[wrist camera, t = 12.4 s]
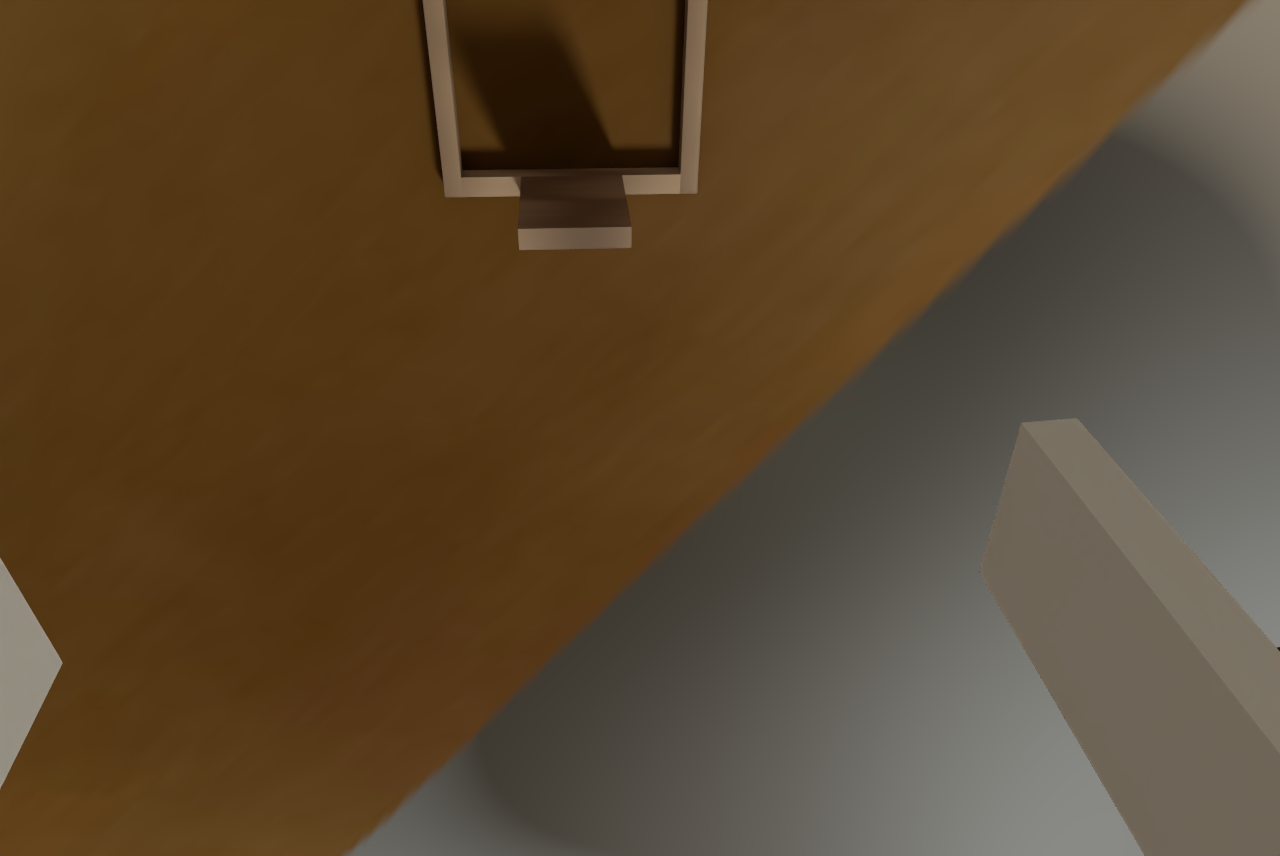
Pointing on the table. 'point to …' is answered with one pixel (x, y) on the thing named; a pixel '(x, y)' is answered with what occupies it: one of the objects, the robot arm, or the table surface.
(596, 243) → the caddy
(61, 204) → the table surface
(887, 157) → the table surface
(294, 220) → the table surface
